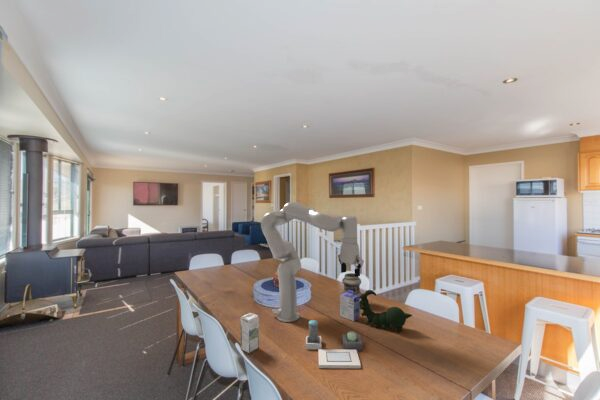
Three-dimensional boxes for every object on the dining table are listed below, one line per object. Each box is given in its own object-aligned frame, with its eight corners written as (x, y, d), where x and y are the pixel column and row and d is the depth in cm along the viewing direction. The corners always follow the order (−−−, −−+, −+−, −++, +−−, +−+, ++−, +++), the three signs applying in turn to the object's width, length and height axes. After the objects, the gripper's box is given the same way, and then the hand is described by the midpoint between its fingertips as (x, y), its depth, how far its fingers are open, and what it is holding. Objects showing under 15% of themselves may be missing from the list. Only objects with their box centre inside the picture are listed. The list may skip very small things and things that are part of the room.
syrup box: (250, 343, 123) (249, 312, 123) (259, 348, 120) (258, 315, 120) (240, 349, 119) (239, 316, 119) (249, 353, 115) (248, 319, 115)
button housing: (344, 350, 116) (343, 343, 116) (342, 340, 124) (341, 334, 124) (362, 350, 116) (362, 343, 116) (359, 340, 124) (359, 334, 124)
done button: (348, 344, 118) (347, 336, 118) (346, 339, 122) (346, 331, 122) (357, 344, 118) (357, 336, 118) (355, 339, 122) (355, 331, 122)
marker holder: (305, 349, 118) (305, 343, 118) (306, 341, 124) (306, 335, 124) (321, 349, 117) (321, 343, 117) (321, 341, 124) (321, 335, 124)
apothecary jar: (340, 306, 165) (339, 276, 165) (344, 299, 176) (344, 271, 177) (360, 308, 161) (359, 278, 161) (363, 301, 172) (362, 273, 172)
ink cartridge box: (360, 318, 147) (359, 292, 147) (354, 321, 143) (353, 294, 143) (346, 313, 154) (345, 287, 154) (339, 316, 151) (339, 290, 151)
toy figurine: (360, 329, 138) (412, 337, 125) (356, 291, 139) (407, 295, 126) (366, 322, 146) (415, 329, 133) (362, 286, 147) (411, 289, 134)
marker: (309, 347, 119) (308, 324, 119) (309, 342, 123) (308, 320, 123) (318, 347, 119) (317, 324, 119) (318, 342, 123) (317, 319, 123)
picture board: (318, 368, 104) (318, 364, 104) (318, 352, 115) (318, 349, 115) (360, 368, 103) (360, 364, 103) (356, 352, 114) (356, 349, 114)
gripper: (333, 239, 143) (333, 271, 143) (357, 243, 129) (357, 279, 129) (343, 238, 147) (343, 269, 147) (368, 241, 133) (368, 276, 133)
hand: (350, 274), depth 138 cm, fingers open, 9 cm apart
